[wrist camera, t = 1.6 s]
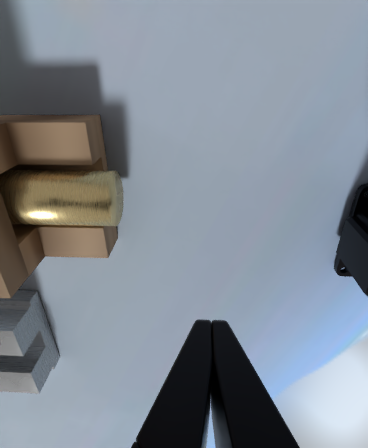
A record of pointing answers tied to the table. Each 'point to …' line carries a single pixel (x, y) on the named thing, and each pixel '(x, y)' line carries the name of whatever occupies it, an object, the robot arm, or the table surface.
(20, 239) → the brown notched block
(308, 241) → the table surface
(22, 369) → the v block
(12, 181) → the axle
